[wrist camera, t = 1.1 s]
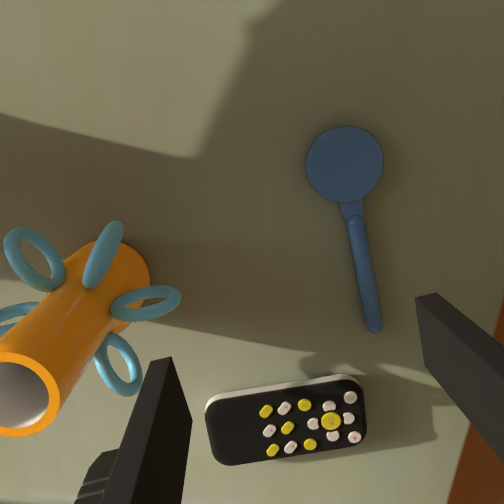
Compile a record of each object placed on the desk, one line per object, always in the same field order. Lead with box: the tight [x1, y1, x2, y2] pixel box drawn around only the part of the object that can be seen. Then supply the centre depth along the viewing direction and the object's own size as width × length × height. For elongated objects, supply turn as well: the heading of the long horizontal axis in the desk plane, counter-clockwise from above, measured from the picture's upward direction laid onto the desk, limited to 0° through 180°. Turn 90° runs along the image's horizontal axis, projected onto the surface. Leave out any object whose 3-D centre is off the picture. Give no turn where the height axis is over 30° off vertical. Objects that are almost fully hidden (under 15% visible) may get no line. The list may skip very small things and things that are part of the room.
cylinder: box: [0, 220, 182, 437], centre depth 25 cm, size 12×10×15 cm
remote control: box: [205, 374, 367, 466], centre depth 35 cm, size 6×13×2 cm, turn 99°
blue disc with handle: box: [306, 126, 383, 333], centre depth 32 cm, size 16×5×1 cm, turn 14°
